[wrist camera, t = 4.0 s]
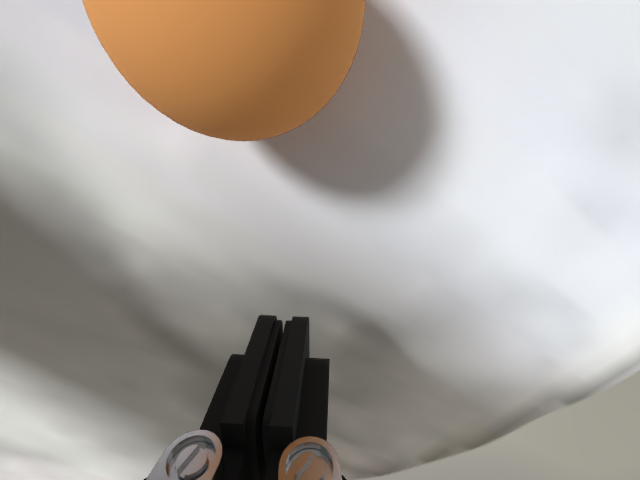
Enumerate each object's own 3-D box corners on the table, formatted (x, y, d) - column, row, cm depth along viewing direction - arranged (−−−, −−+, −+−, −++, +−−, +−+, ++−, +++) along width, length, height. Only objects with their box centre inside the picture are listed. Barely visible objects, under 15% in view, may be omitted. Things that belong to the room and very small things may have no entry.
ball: (350, 129, 12) (370, 165, 6) (179, 126, 12) (49, 160, 6) (360, -101, 9) (412, -391, 4) (143, -101, 9) (-131, -385, 4)
